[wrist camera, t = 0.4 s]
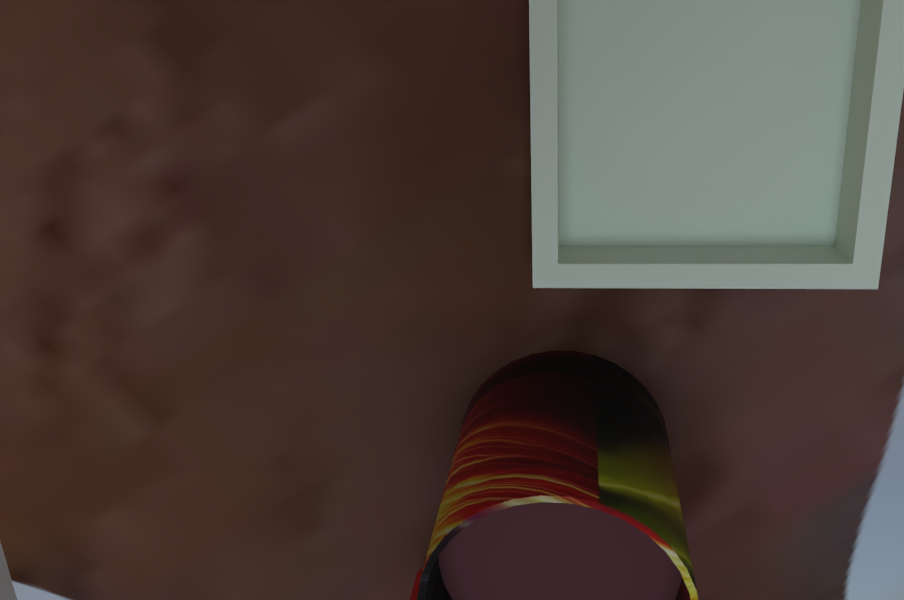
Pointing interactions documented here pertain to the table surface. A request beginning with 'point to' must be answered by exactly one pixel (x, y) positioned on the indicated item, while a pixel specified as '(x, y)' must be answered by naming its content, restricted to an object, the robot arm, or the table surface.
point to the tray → (713, 142)
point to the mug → (560, 491)
